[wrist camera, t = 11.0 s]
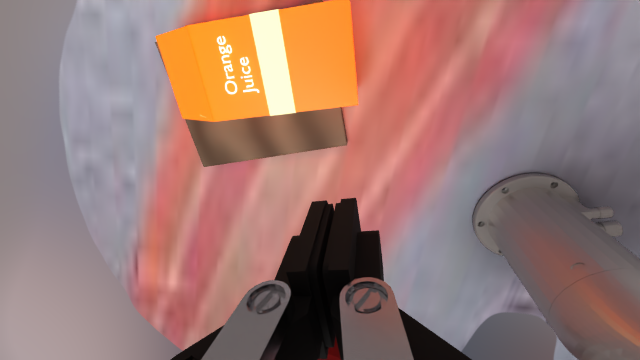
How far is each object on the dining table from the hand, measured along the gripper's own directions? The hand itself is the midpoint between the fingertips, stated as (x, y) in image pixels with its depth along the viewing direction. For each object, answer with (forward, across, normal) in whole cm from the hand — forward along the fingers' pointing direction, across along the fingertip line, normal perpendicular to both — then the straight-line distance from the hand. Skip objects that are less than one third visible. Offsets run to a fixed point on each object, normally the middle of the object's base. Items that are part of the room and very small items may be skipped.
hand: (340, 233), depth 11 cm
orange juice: (+22, 0, -6) cm, 23 cm away
